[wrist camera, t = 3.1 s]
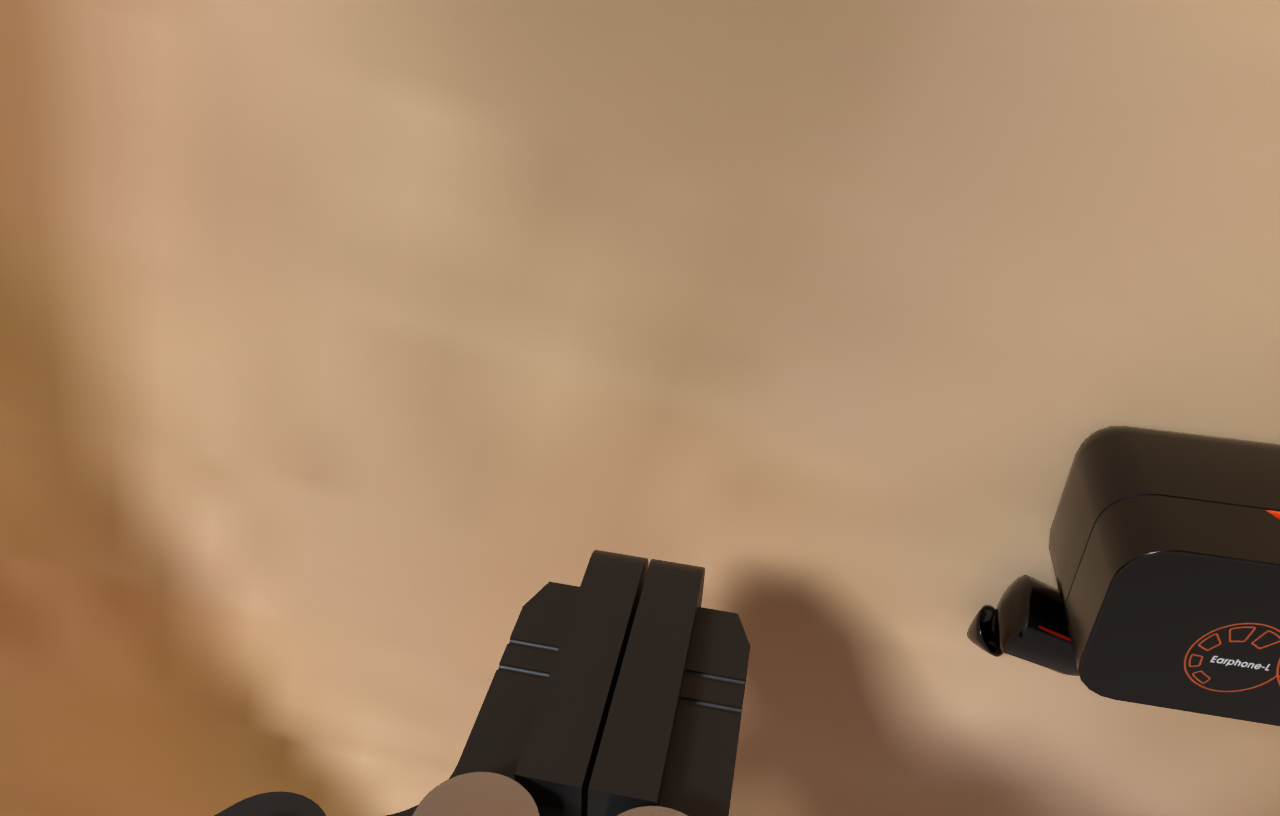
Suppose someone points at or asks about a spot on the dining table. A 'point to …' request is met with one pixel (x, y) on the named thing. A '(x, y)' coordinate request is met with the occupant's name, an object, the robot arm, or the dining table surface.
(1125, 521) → the wireless earbuds
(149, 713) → the dining table surface
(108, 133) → the dining table surface
